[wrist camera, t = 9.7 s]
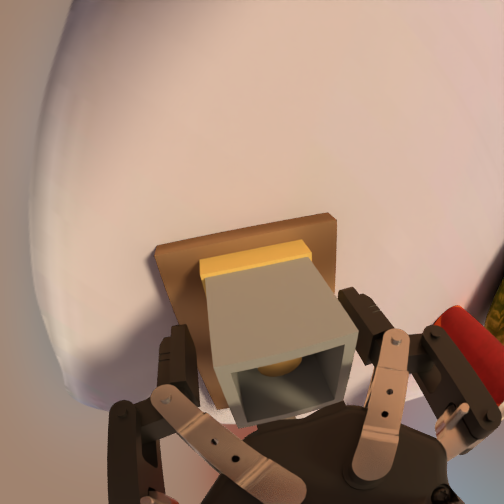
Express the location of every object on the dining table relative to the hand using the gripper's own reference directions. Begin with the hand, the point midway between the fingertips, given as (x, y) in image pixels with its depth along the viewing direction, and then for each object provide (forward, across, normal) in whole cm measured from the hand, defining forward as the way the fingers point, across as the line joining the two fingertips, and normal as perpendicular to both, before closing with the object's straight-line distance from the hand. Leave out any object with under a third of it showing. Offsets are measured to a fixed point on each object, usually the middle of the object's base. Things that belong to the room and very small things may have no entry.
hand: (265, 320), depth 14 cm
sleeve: (+3, 0, 0) cm, 3 cm away
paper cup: (+4, -21, +12) cm, 25 cm away
